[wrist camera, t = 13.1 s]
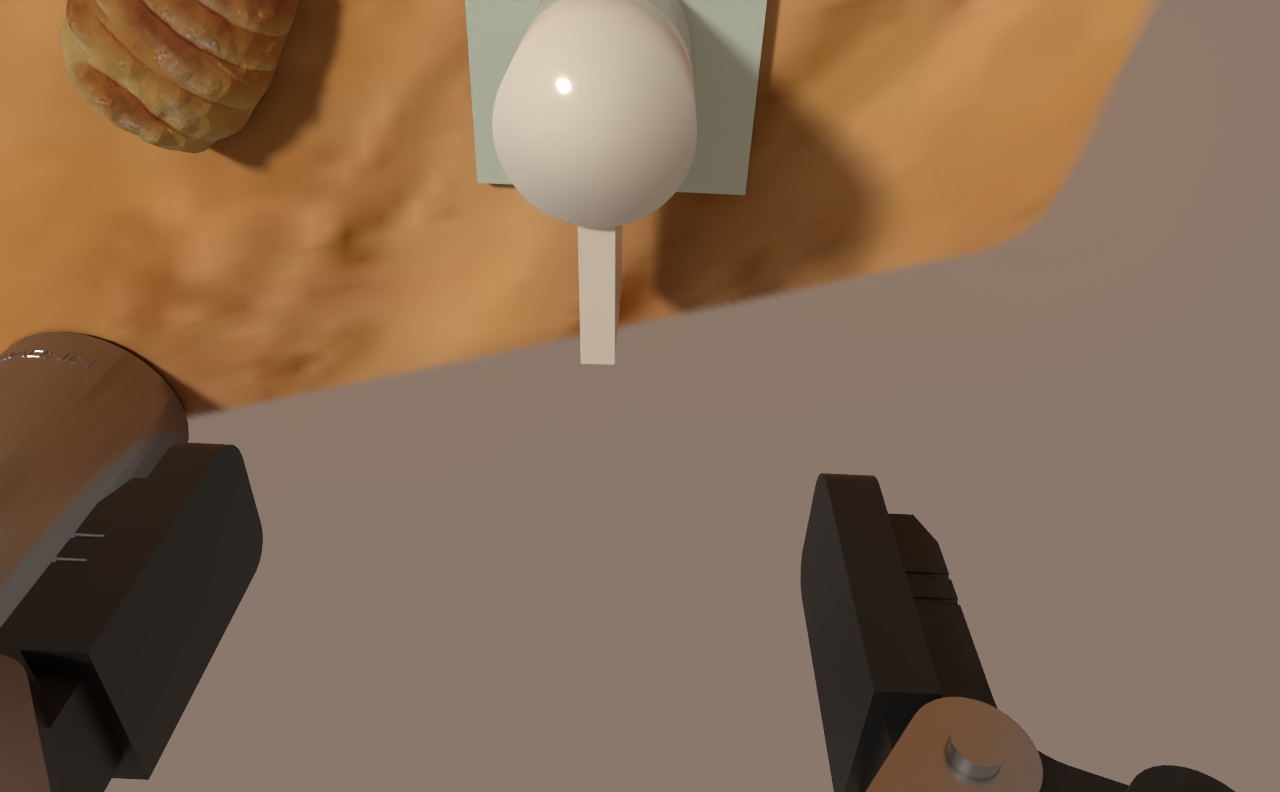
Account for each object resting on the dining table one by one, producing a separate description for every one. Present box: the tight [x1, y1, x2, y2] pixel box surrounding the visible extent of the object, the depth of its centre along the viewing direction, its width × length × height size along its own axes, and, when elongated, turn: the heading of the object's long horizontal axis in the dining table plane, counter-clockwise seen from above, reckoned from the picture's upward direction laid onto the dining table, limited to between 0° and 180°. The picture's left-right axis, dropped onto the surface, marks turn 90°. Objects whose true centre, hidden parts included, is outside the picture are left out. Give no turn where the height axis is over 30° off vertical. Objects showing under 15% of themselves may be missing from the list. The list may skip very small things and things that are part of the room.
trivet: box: [465, 0, 767, 195], centre depth 34 cm, size 11×11×1 cm
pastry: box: [61, 0, 299, 153], centre depth 32 cm, size 9×7×4 cm
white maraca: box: [492, 0, 697, 364], centre depth 31 cm, size 12×6×9 cm, turn 179°
